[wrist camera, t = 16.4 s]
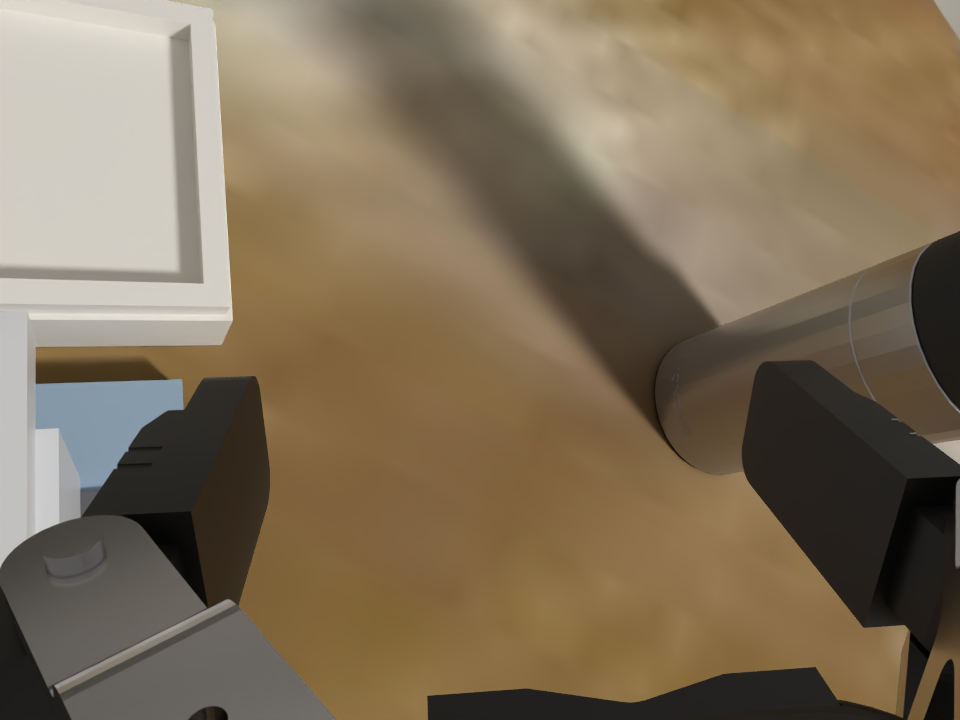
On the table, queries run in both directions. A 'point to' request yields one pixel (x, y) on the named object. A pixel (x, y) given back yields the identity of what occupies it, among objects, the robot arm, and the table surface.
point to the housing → (112, 173)
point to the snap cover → (61, 435)
